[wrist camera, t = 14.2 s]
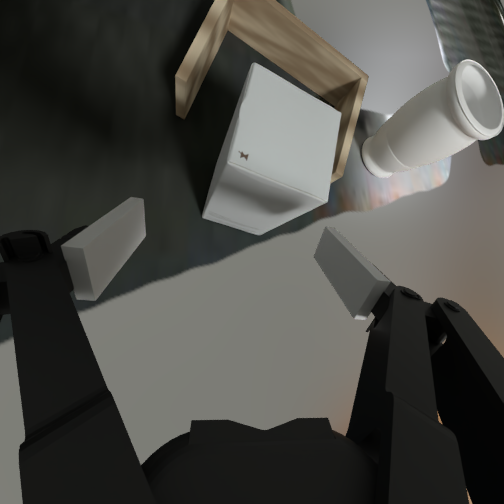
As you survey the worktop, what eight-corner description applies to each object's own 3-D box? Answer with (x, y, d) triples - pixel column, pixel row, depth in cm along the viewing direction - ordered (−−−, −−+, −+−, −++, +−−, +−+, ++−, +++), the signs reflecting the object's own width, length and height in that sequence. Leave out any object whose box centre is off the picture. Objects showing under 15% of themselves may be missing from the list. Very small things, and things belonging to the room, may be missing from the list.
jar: (399, 146, 43) (505, 84, 29) (394, 191, 41) (506, 149, 27) (359, 123, 40) (458, 41, 26) (352, 171, 38) (454, 111, 24)
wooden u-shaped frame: (315, 192, 35) (342, 176, 29) (175, 114, 28) (175, 75, 23) (341, 104, 39) (368, 76, 33) (223, 19, 32) (232, -35, 27)
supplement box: (260, 237, 31) (330, 206, 17) (200, 218, 28) (223, 162, 14) (273, 182, 32) (345, 111, 18) (217, 159, 30) (252, 56, 16)
